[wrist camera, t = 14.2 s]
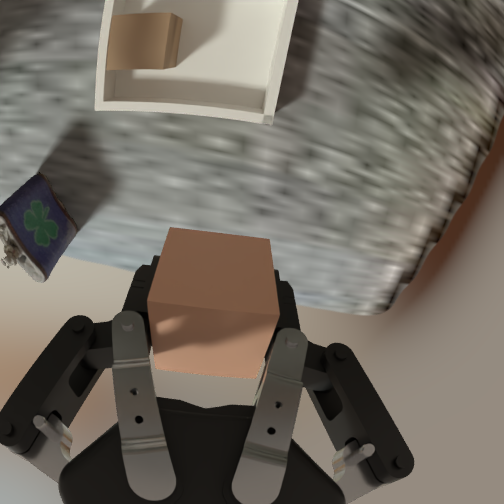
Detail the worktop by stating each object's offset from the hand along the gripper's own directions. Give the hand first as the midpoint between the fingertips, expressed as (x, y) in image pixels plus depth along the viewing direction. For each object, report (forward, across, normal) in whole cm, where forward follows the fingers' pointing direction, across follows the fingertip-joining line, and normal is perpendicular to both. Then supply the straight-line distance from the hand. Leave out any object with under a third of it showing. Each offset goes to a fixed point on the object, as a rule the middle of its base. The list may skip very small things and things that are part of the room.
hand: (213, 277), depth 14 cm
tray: (+17, +4, -11) cm, 20 cm away
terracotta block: (0, 0, 0) cm, 0 cm away
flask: (+17, +20, +7) cm, 27 cm away
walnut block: (+16, +8, -11) cm, 21 cm away
